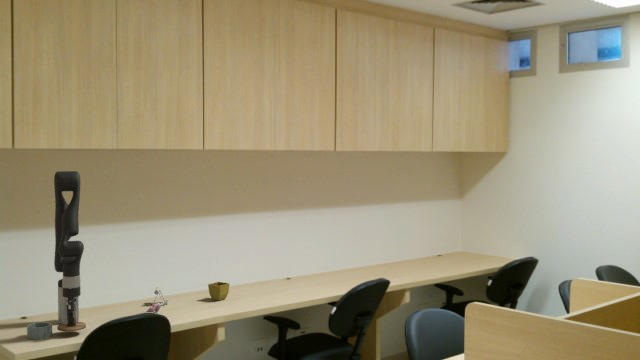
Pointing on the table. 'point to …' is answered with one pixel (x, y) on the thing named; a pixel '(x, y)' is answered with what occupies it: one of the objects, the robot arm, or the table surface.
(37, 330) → the bowl
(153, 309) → the video game controller
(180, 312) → the table surface
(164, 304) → the portable electronic device stand
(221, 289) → the flower pot
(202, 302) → the table surface
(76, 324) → the lid
